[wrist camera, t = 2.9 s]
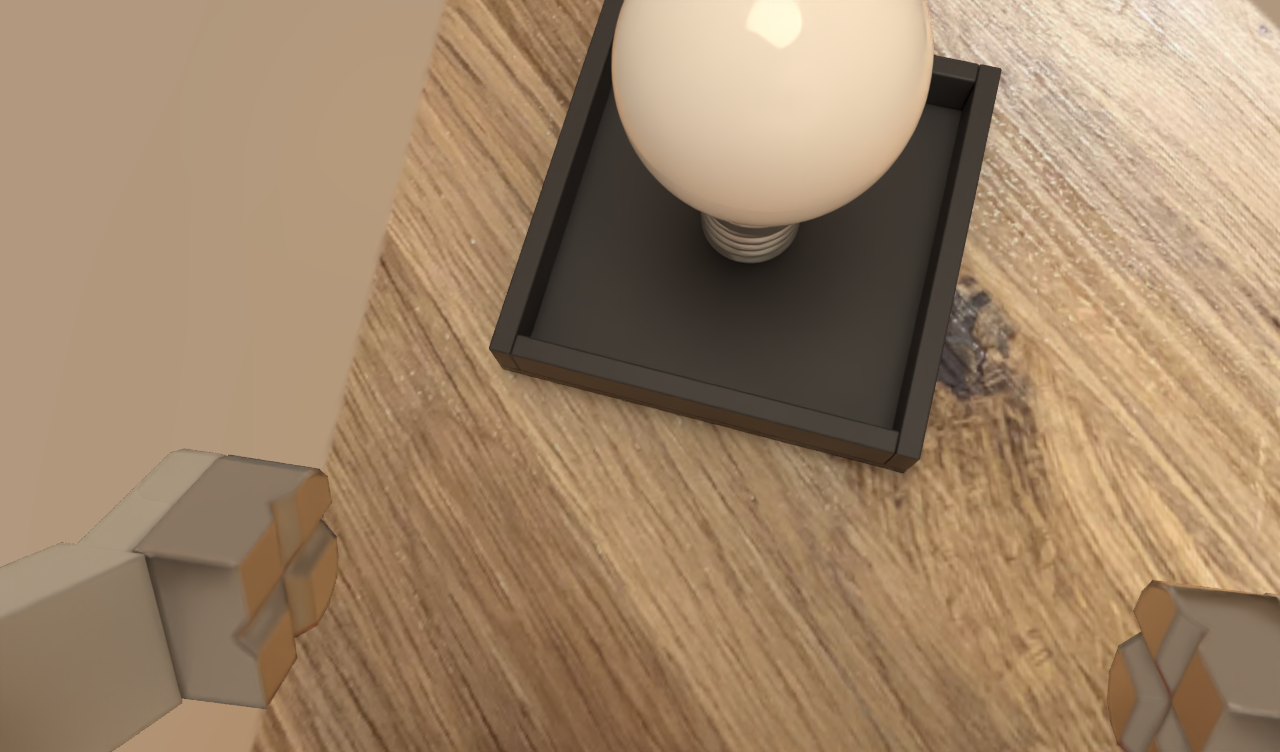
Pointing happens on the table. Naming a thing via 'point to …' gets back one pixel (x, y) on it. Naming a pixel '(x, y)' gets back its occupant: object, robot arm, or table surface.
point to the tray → (750, 283)
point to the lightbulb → (769, 106)
